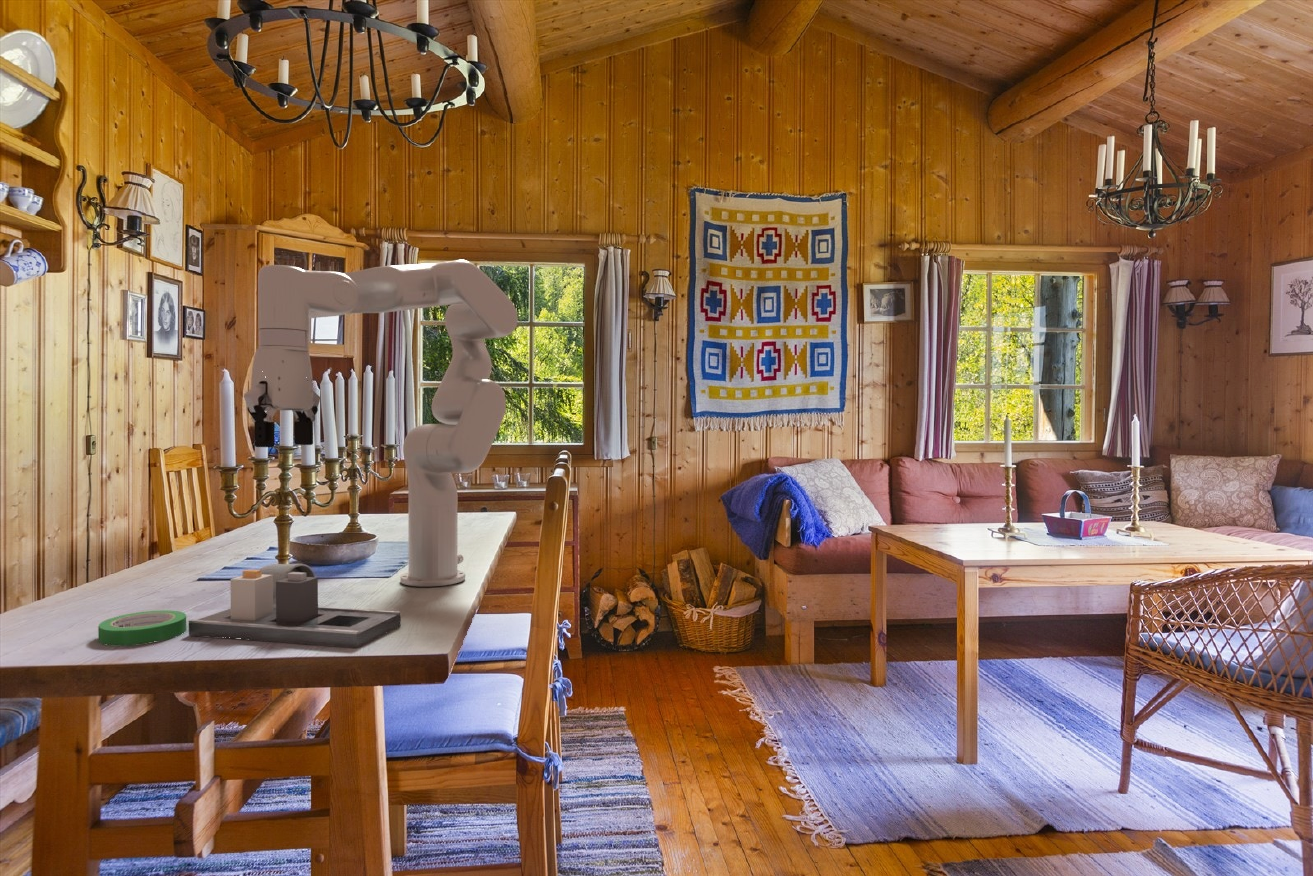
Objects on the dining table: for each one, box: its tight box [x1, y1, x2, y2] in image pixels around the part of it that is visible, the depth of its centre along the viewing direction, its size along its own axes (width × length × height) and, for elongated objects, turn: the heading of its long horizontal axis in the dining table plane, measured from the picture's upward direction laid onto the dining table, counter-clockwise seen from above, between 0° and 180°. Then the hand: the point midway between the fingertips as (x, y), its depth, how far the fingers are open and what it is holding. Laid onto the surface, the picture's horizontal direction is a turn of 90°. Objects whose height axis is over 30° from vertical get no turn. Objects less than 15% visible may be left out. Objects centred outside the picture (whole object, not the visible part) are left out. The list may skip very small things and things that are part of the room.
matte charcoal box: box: [276, 572, 319, 624], centre depth 120 cm, size 4×4×9 cm
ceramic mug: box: [259, 563, 316, 604], centre depth 133 cm, size 11×8×8 cm
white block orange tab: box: [230, 569, 273, 621], centre depth 121 cm, size 4×4×9 cm
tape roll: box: [97, 609, 187, 647], centre depth 117 cm, size 11×11×3 cm
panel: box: [188, 604, 401, 649], centre depth 120 cm, size 12×28×2 cm, turn 79°
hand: (284, 445), depth 128 cm, fingers open, 9 cm apart
